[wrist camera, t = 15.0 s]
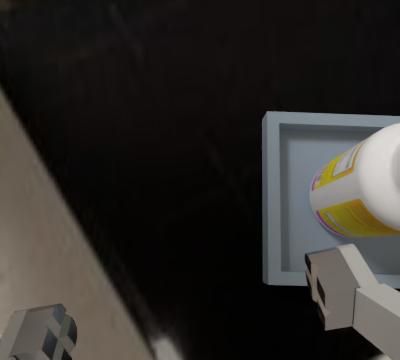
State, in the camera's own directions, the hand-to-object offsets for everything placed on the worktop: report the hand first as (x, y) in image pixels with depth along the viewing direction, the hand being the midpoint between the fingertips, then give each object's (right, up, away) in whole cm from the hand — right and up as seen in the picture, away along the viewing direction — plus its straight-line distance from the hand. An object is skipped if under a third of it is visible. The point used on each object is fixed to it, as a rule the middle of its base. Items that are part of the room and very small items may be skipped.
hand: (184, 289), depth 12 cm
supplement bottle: (+13, +2, +18) cm, 22 cm away
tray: (+13, +2, +19) cm, 23 cm away
